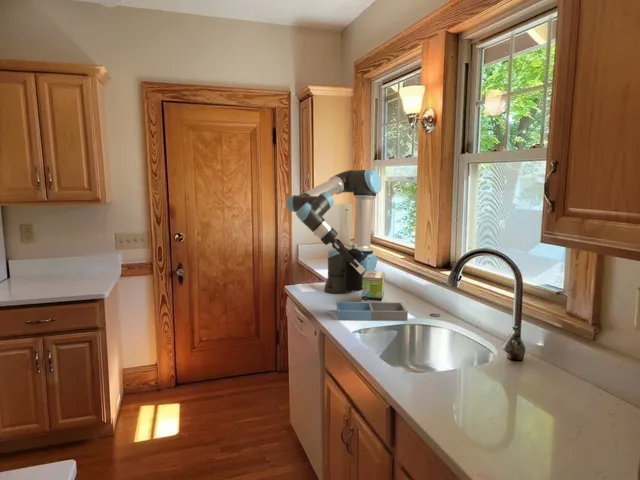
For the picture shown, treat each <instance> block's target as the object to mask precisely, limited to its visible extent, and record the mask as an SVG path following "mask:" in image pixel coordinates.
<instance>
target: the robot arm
mask: <svg viewBox="0 0 640 480" xmlns="http://www.w3.org/2000/svg"><path fill="white" fill-rule="evenodd" d="M381 189H382V180H381V176H380V174H379V173H378V172H377V171H376V170H374V169H356V170H355V169H349V170H345V171H342V172H339V173H337V174H335V175H333V176H331V177H330V178H329V179H328V180H327V181H325V182H323V183H321V184H319V185H317V186H315V187H313V188H311V189H309V190H307V191H304V192H303V193H299V194H297V195H296V194H294V195H289V196H288V197H287V199H286V203H285V204H286V208H287V209H288V211H289V212H293V213H295V215H296V216H297V218H298V219H299V220H300V222H301V223H303V225H305V226H306V227H307V228H308V230H310V231H311V232H312V233H313V236H316V237H317V238H318V239H320V241H321V242H322V243H323V244H324V245H325V246H327V245H329V244H331V247H332V248H333V249H330V250H328V253H327V279H326V281H325V285H324V291H325V293H329V294H334V295H344V294H349V293H352V292H353V291H347V290H345V289H344V288H345V259H346V260H347V261H348V264H351V265H352V266H353V267H354V268H355V269H356V270H357V271H358V272H359V273H360V274H362V273H363V275H364V273H365V271H375V270H376V268H377V264H378V263H377V262H378V258H377V255H376V254H374V249H373V248H372V247H371V241H372V240H371V239H372V223H373V221H372V219H373V207H374V206H373V202H374V199H376V198H377V194H379V192H381ZM343 193H353V195H352V196H353V198H354V199H355V215H354V216H355V217H354V234H353V244H357V249H358V250H360V251H361V252H362V253H363V254H364V255H363V267H362V266H361V265H360V264H359V263H358V262H357V261H356V260H355V259H354V258H353V257H352V256H351V255H350V254H349V253H348V252H347V251H348V250H350V249H352V247H346V246H345V245H344V243H342V241H341V240H340V239H339V238H337V236H338V234H339V233H338V231H336V230H335V228H334V227H332V225H331V224H330V223H329V222H328V221H327V220H326V219H325V218H324V217H323V216H325V214H326V213H327V212H328V211H329V210H330V209H331V208H332V206H333V205H334V202H335V201H334V197H333V196H334V195H340V194H343Z"/></svg>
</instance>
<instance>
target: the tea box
mask: <svg viewBox="0 0 640 480" xmlns="http://www.w3.org/2000/svg"><path fill="white" fill-rule="evenodd" d="M362 288H363V290H361V302H384V300H385V299H384V298H385V271H375V270H374V271H365V273H364V275H363V282H362Z"/></svg>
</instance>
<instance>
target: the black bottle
mask: <svg viewBox="0 0 640 480" xmlns="http://www.w3.org/2000/svg"><path fill="white" fill-rule="evenodd" d="M351 248H352V249H351ZM351 248H349V249H350V250H348V251H347V252H348V253H349V254H350V255H351V256H352V257H353V258H354V259H355V260H356V261H357V262H358V263H359V264H360V265H361V266H362V267H363V255H364V254H363V253H362V252H361V251H360V250H358V249H357V244H354V243H352V244H351ZM362 282H363V273H362V274H360V273H359V272H358V271H357V270H356V269H355V268H354V267H353V266H352V265H351V264H348V261H347V260H346V259H345V288H344V289H345V290H347V291H352V292H360V291H361V292H362V290H363V288H362Z"/></svg>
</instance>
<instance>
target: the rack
mask: <svg viewBox="0 0 640 480" xmlns="http://www.w3.org/2000/svg"><path fill="white" fill-rule="evenodd" d="M408 314H409V313H408V310H407V308H406V307H405V305H404V304H403V302H397V301H396V302H392V301H391V302H389V301H387V302H384V301H383V302H362V301H336V319H337V321H390V322H391V321H393V322H394V321H396V322H397V321H400V322H404V321H405V322H406V321H407V322H408V316H409V315H408Z"/></svg>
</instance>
